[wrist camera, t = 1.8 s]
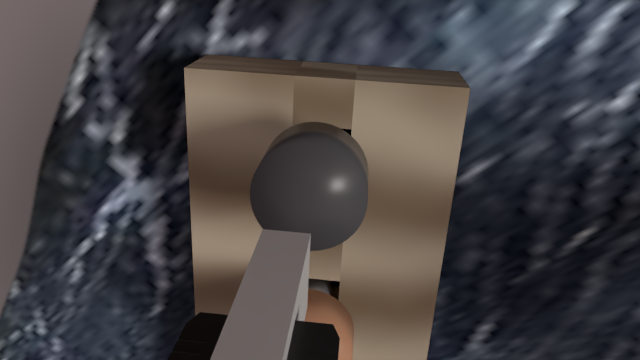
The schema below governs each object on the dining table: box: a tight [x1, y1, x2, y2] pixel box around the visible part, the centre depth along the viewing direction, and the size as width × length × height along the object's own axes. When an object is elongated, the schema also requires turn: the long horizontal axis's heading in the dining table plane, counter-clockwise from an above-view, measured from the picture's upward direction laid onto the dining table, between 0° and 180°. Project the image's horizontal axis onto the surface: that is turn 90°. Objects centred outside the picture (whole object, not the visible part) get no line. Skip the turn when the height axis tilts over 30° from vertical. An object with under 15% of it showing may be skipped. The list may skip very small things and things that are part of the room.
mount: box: [184, 55, 470, 360], centre depth 33 cm, size 26×14×4 cm, turn 177°
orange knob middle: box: [305, 278, 354, 360], centre depth 29 cm, size 5×5×7 cm
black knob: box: [250, 122, 369, 251], centre depth 26 cm, size 5×5×7 cm
